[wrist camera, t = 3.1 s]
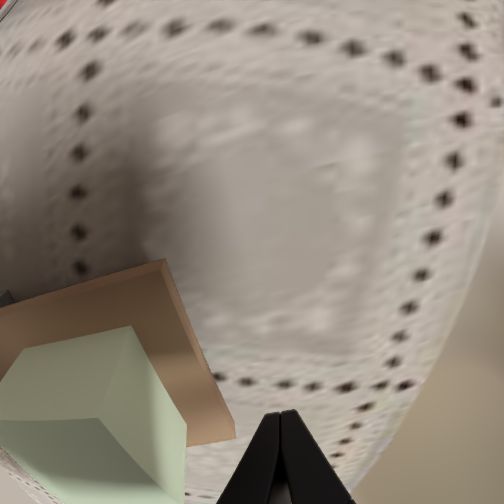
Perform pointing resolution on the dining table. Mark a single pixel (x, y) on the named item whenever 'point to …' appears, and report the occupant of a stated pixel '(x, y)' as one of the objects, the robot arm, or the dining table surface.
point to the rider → (94, 422)
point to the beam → (146, 328)
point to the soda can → (5, 7)
